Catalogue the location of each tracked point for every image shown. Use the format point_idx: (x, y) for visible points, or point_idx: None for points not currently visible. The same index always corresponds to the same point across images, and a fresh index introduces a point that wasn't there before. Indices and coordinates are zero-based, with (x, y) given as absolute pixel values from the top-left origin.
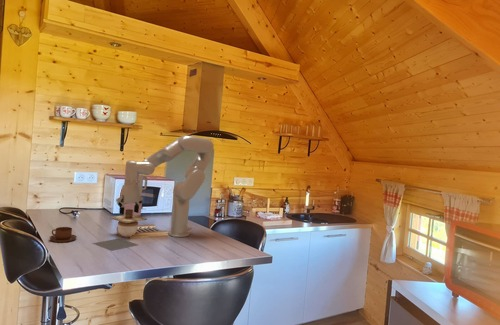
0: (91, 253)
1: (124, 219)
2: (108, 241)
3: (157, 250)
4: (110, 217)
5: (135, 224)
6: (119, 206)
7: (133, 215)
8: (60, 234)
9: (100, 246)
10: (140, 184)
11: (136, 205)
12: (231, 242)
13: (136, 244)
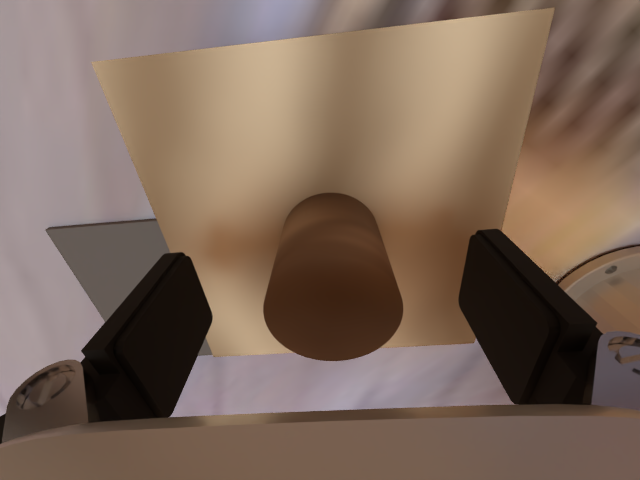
0: (44, 338)
1: (237, 288)
2: (148, 241)
3: (305, 409)
4: (100, 76)
5: None
6: (57, 382)
7: (509, 117)
8: None
9: (88, 295)
10: None
11: (544, 377)
12: None
13: None
